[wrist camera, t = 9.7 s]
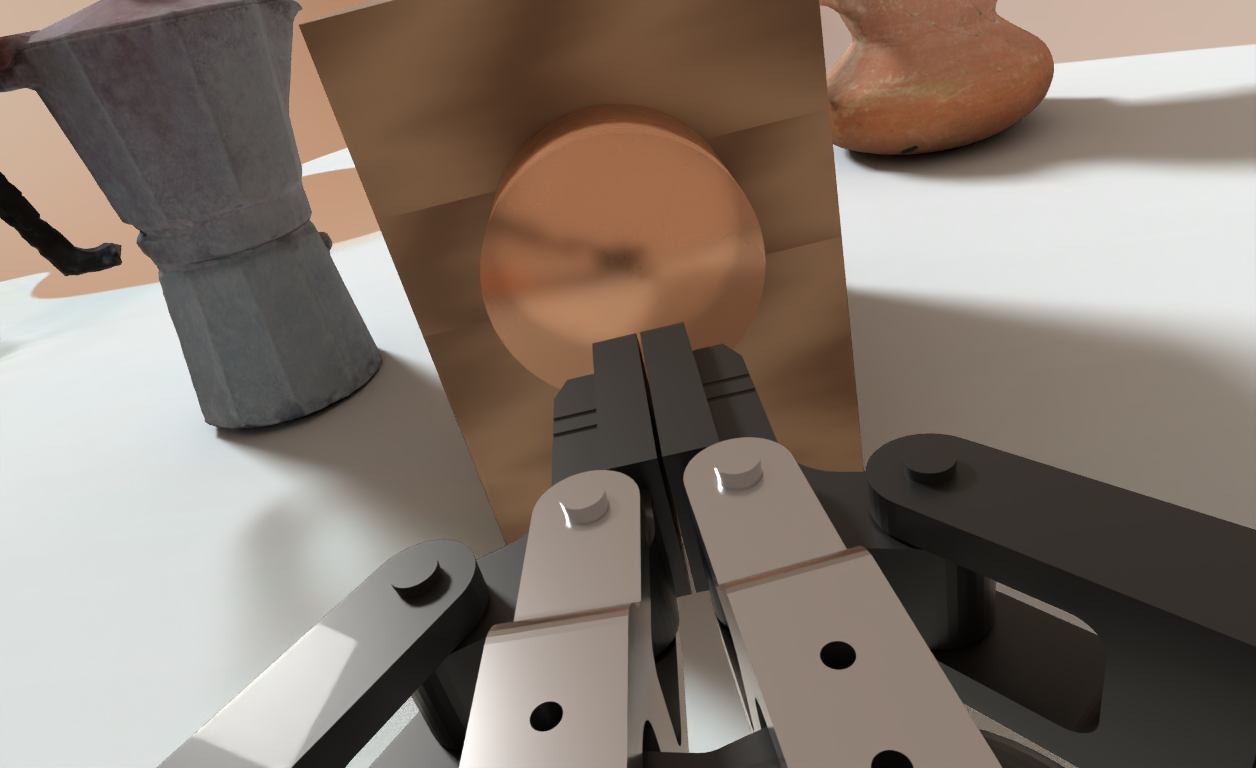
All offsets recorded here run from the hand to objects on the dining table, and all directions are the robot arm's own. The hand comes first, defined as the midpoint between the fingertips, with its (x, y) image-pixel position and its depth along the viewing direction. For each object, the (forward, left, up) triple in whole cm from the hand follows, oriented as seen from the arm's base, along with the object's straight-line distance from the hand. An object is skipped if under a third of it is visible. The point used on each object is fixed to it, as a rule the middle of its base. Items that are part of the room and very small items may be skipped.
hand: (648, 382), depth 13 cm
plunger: (0, +15, -3) cm, 15 cm away
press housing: (0, +17, -10) cm, 19 cm away
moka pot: (-18, +25, -10) cm, 32 cm away
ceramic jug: (+20, +41, -10) cm, 46 cm away
